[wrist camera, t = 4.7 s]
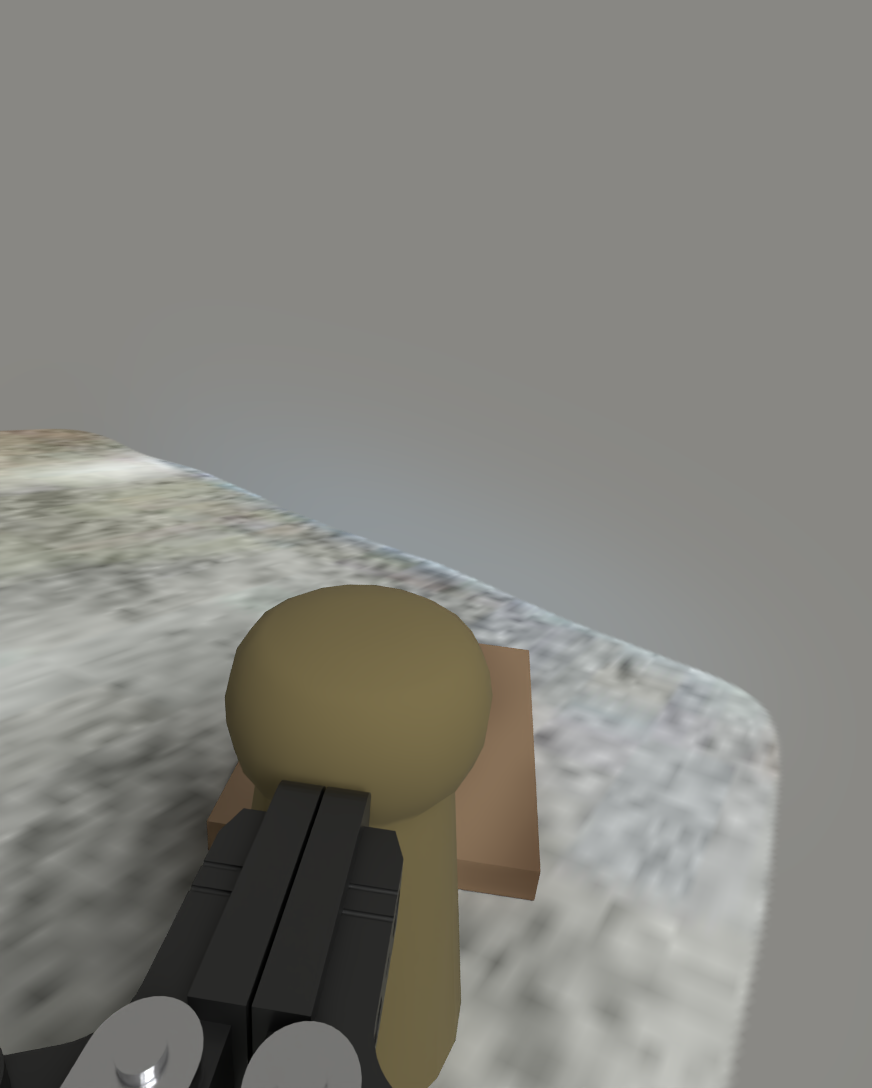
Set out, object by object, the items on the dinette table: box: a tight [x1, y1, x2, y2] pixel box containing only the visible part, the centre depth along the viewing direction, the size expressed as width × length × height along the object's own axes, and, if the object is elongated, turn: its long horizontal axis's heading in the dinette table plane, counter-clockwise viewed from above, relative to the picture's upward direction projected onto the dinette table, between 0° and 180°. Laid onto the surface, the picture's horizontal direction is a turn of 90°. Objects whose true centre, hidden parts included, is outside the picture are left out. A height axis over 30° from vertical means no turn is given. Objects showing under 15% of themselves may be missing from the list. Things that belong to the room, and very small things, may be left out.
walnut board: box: [207, 644, 540, 900], centre depth 26 cm, size 10×12×1 cm
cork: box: [225, 585, 493, 1088], centre depth 15 cm, size 6×6×11 cm
